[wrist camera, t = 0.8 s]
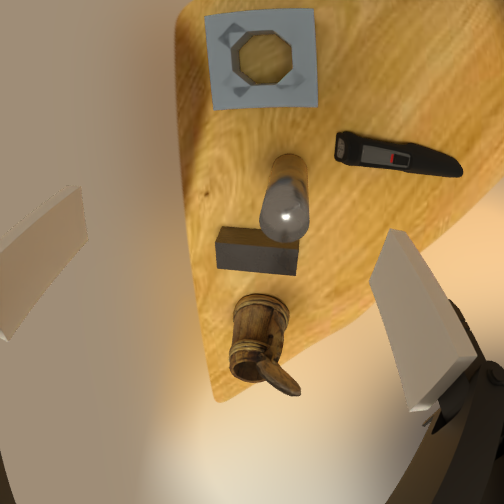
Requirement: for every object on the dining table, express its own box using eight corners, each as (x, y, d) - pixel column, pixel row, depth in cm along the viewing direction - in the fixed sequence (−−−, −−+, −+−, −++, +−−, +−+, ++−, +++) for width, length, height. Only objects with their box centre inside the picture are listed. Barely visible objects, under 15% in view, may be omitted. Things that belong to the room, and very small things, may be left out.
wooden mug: (321, 298, 44) (322, 407, 30) (265, 338, 51) (250, 432, 37) (275, 266, 42) (259, 380, 27) (223, 313, 49) (195, 410, 35)
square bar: (299, 231, 38) (298, 249, 35) (296, 257, 41) (295, 276, 37) (222, 225, 40) (215, 242, 36) (223, 250, 42) (217, 268, 39)
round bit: (307, 154, 32) (310, 199, 22) (307, 186, 34) (308, 243, 25) (271, 153, 33) (257, 198, 23) (273, 186, 35) (260, 242, 25)
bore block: (311, 15, 23) (313, 8, 20) (315, 102, 28) (317, 107, 25) (215, 21, 24) (204, 16, 21) (223, 105, 30) (213, 110, 27)
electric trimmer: (448, 179, 31) (459, 189, 28) (333, 160, 32) (336, 169, 30) (455, 151, 29) (467, 160, 26) (336, 128, 30) (340, 134, 27)
